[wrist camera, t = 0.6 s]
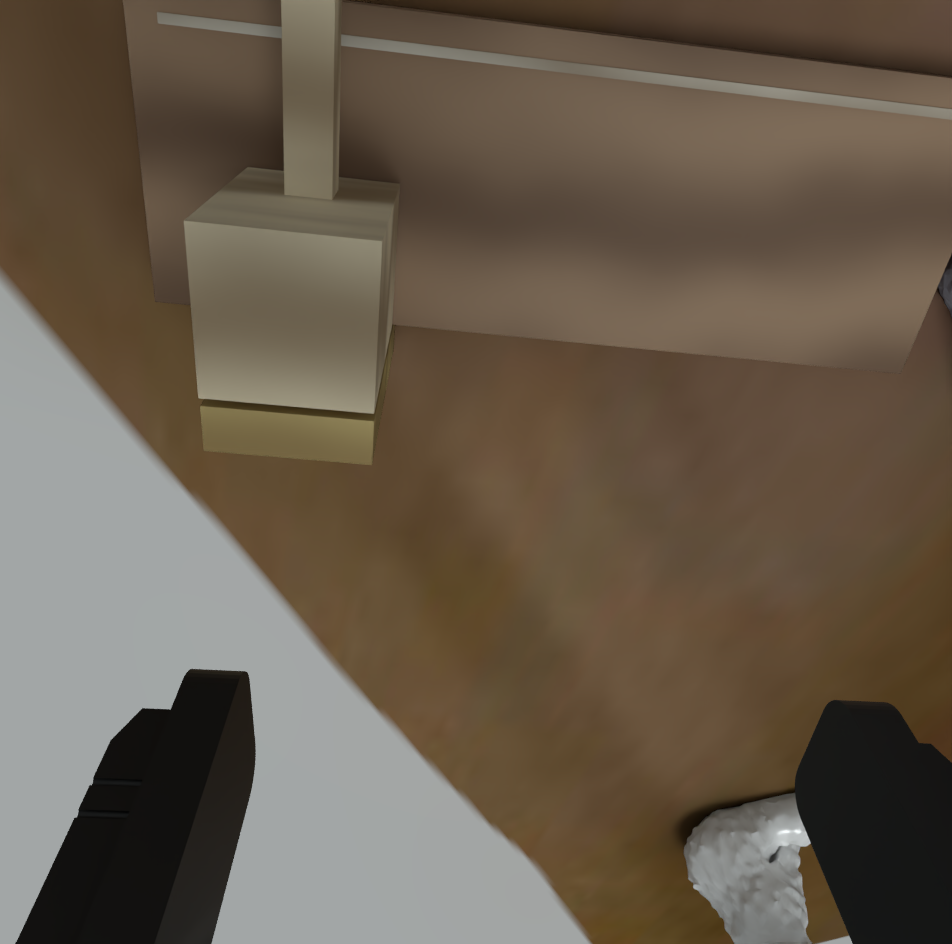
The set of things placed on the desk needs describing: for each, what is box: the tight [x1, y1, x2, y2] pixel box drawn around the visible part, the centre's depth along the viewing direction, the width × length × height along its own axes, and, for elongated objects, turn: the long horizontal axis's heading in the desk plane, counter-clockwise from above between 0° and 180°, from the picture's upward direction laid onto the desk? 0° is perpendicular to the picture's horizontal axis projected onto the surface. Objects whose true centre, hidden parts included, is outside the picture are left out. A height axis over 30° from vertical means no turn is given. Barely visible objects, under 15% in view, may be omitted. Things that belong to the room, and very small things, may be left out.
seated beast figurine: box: [683, 793, 812, 944], centre depth 44 cm, size 10×9×12 cm
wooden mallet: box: [184, 0, 400, 465], centre depth 24 cm, size 15×5×9 cm, turn 174°
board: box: [123, 0, 952, 374], centre depth 28 cm, size 10×28×2 cm, turn 84°
